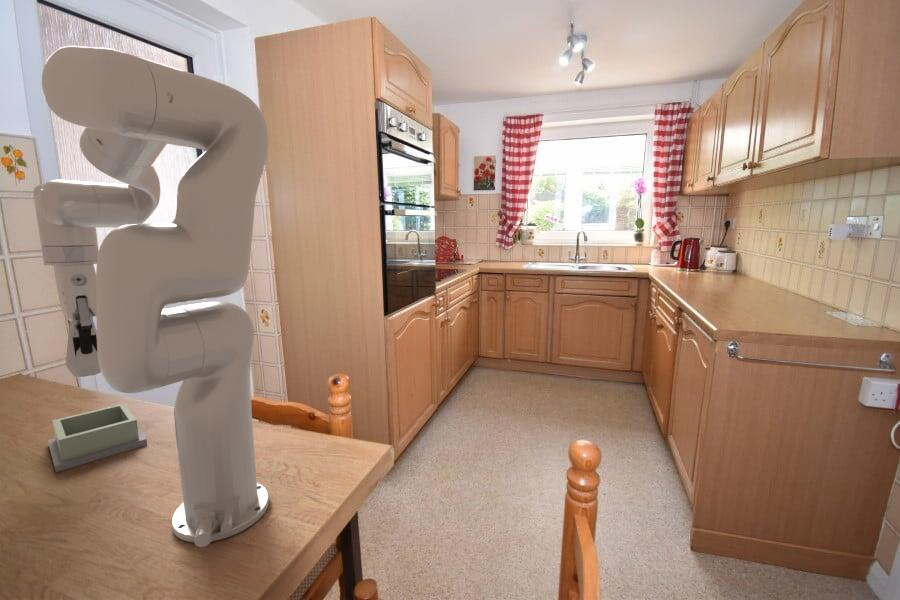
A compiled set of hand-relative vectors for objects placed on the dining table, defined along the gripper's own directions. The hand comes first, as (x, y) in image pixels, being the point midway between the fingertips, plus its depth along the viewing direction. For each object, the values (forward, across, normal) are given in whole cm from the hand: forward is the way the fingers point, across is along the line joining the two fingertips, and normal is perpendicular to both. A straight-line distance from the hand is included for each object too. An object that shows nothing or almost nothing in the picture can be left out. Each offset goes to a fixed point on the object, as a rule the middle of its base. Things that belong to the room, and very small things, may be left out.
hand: (85, 354), depth 77 cm
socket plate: (+18, 0, 0) cm, 18 cm away
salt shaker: (+4, 0, 0) cm, 4 cm away
